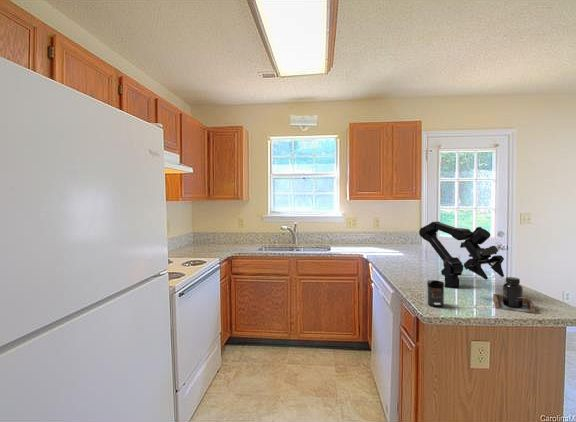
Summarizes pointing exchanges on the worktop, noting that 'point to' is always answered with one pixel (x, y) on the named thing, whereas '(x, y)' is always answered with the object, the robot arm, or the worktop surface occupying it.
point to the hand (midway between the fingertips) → (495, 277)
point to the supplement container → (435, 293)
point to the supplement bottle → (512, 293)
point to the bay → (526, 307)
